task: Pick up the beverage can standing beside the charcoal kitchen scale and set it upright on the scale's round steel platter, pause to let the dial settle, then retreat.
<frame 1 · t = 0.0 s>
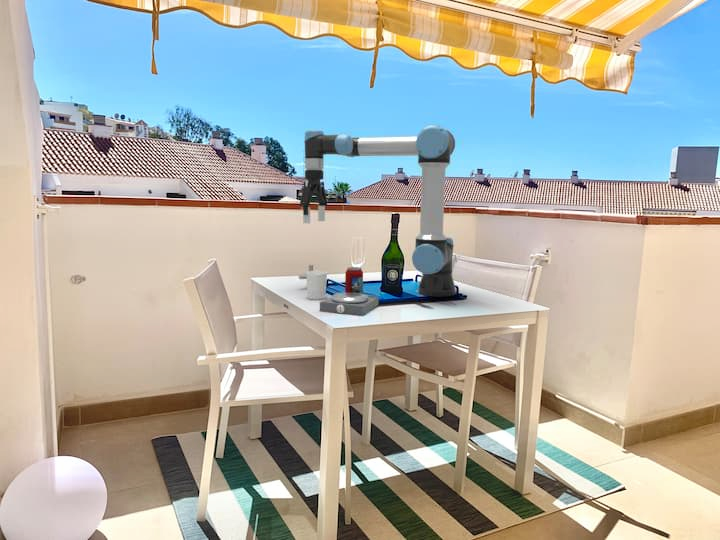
hand: (314, 222, 204), 28 cm above the table, tool pointing down, fingers open, 13 cm apart
white cup: (316, 298, 192), on the table
beverage can: (353, 299, 191), on the table
platter: (349, 297, 176), point 4 cm above the table, slide at -0.4 cm
scale: (349, 308, 177), on the table
pipe connector: (311, 288, 210), on the table
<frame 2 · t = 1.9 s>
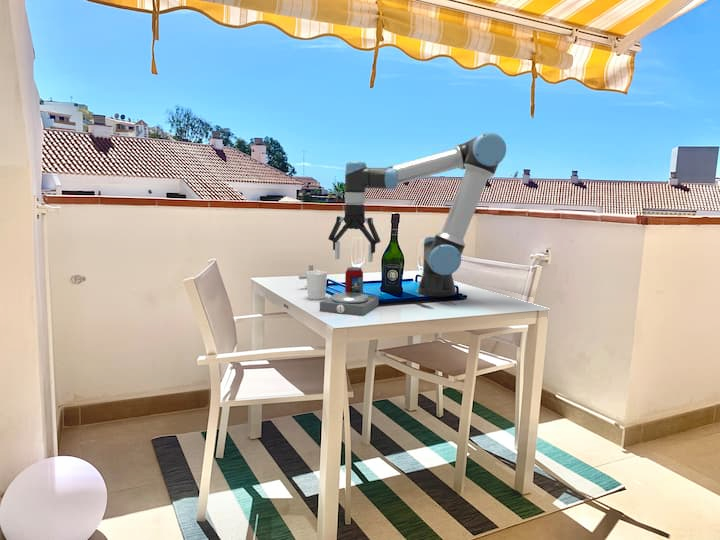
hand: (353, 260, 188), 15 cm above the table, tool pointing down, fingers open, 13 cm apart
nothing on the table moved.
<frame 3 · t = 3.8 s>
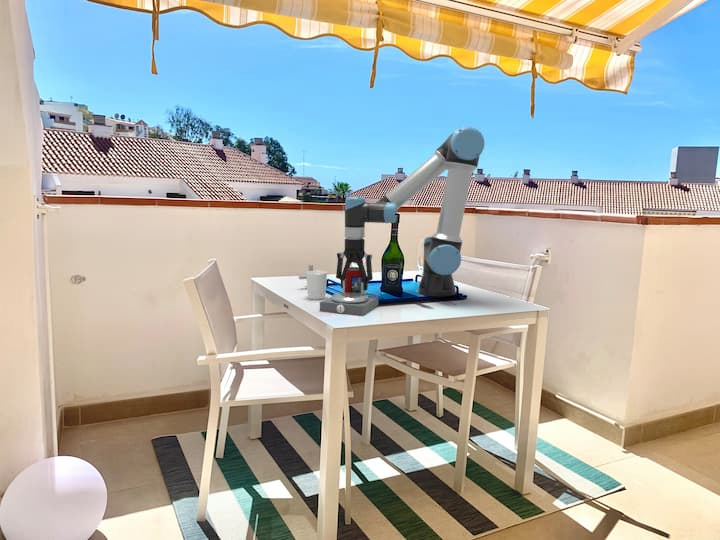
hand: (353, 297, 191), 1 cm above the table, tool pointing down, fingers closed on beverage can, 7 cm apart
beverage can: (354, 299, 191), on the table, touching gripper
everything else where it was.
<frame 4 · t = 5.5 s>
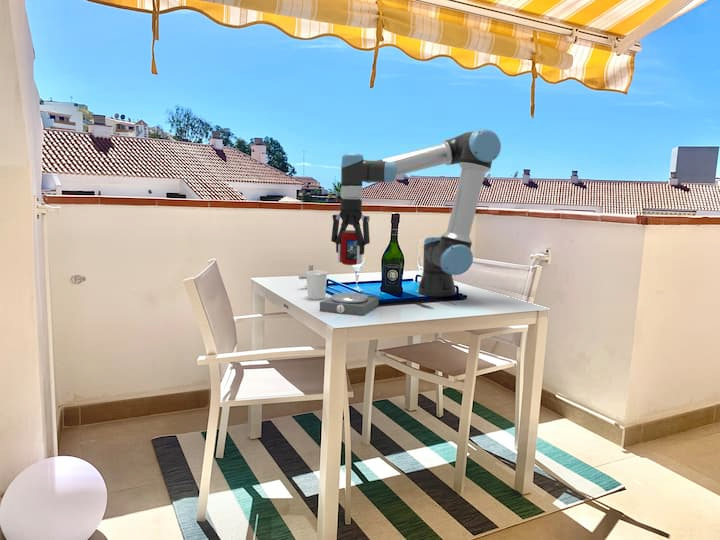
hand: (349, 262, 179), 16 cm above the table, tool pointing down, fingers closed on beverage can, 7 cm apart
beverage can: (349, 264, 179), point 15 cm above the table, touching gripper
everything else where it was.
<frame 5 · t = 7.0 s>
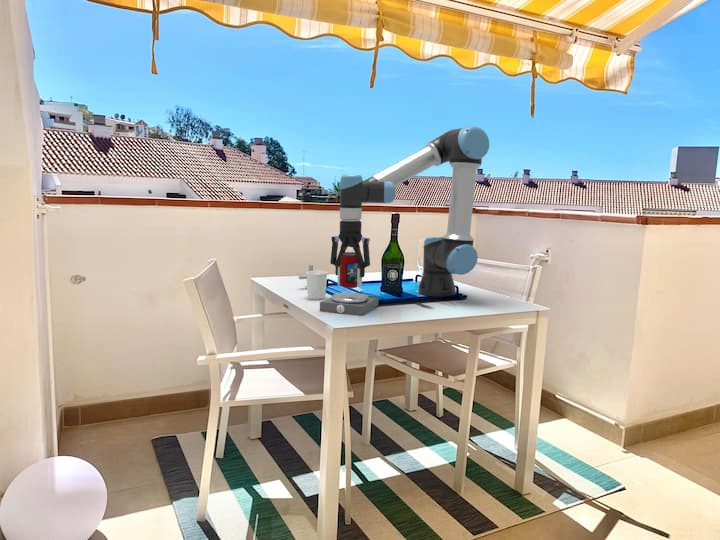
hand: (349, 285, 175), 8 cm above the table, tool pointing down, fingers closed on beverage can, 7 cm apart
beverage can: (349, 287, 175), point 8 cm above the table, touching gripper
everything else where it was.
when the fingers open (7 cm above the table, at t = 7.6 s): beverage can drops 2 cm, resting on platter.
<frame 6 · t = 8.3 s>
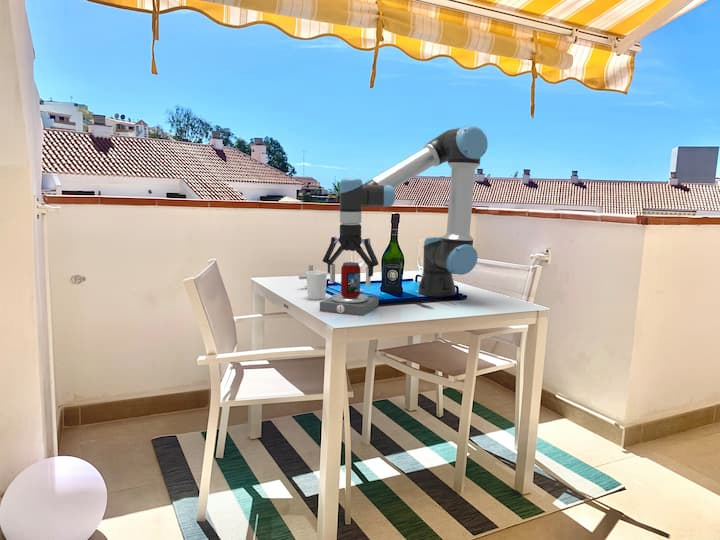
hand: (350, 284, 175), 9 cm above the table, tool pointing down, fingers open, 13 cm apart
beverage can: (350, 297, 176), point 4 cm above the table, touching platter
platter: (349, 298, 176), point 4 cm above the table, slide at -0.5 cm, touching beverage can
everything else where it was.
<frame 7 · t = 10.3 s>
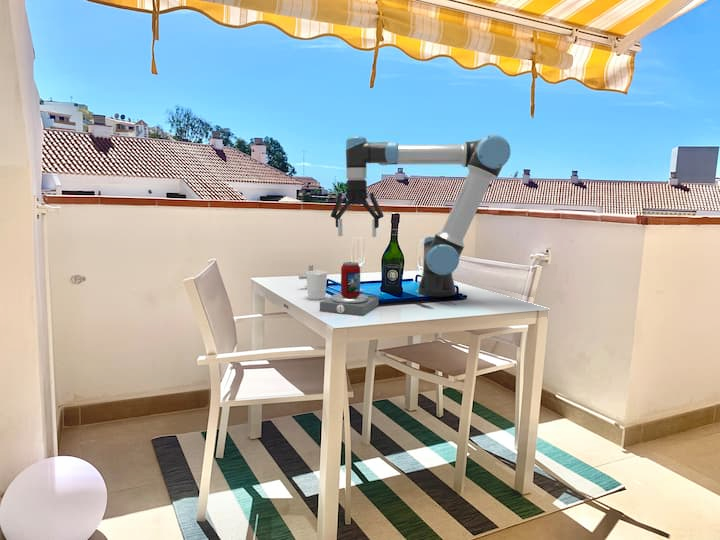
hand: (357, 236, 188), 24 cm above the table, tool pointing down, fingers open, 13 cm apart
nothing on the table moved.
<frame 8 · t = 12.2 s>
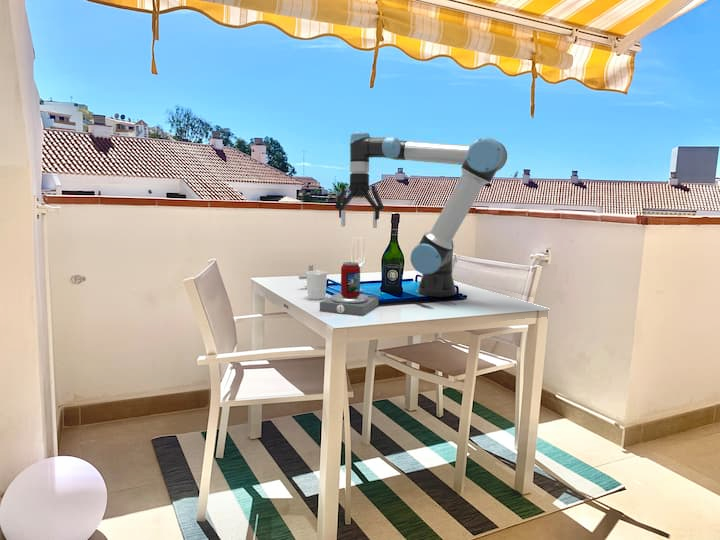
hand: (358, 227, 199), 27 cm above the table, tool pointing down, fingers open, 13 cm apart
nothing on the table moved.
at the end: beverage can inside the target area on the scale (0.2 cm from its centre), point 4.0 cm above the scale's base; beverage can tilted 0°; the gripper is holding nothing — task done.
